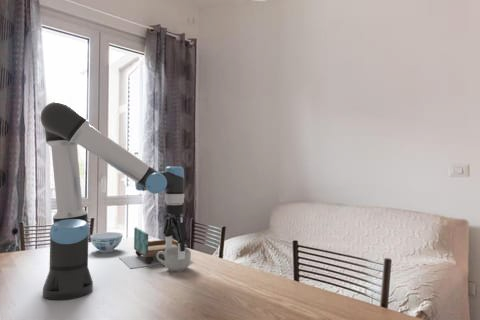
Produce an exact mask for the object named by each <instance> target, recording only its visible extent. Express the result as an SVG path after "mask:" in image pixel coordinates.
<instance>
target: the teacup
mask: <svg viewBox="0 0 480 320" xmlns="http://www.w3.org/2000/svg"><path fill="white" fill-rule="evenodd" d="M191 252H192V250H191V249H190V248H188V247H187V248H185V259H181V260H178V247H174V248H169V249H166V250H165V252H163V251H159V252H158V253H157V255H156V257H157V260H158V261H160V262H161V263H163V264H162V265H163V266H165V267H166V269H168V270H169V271H170V272H173V273H176V272H177V273H179V272H180V273H181V272H184V271H185V270H186V269H188V268H189V266H190V265H191V255H192V253H191ZM159 254H163V255H164V258H165V261H163V260H161V259H160V258H159Z"/></svg>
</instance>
